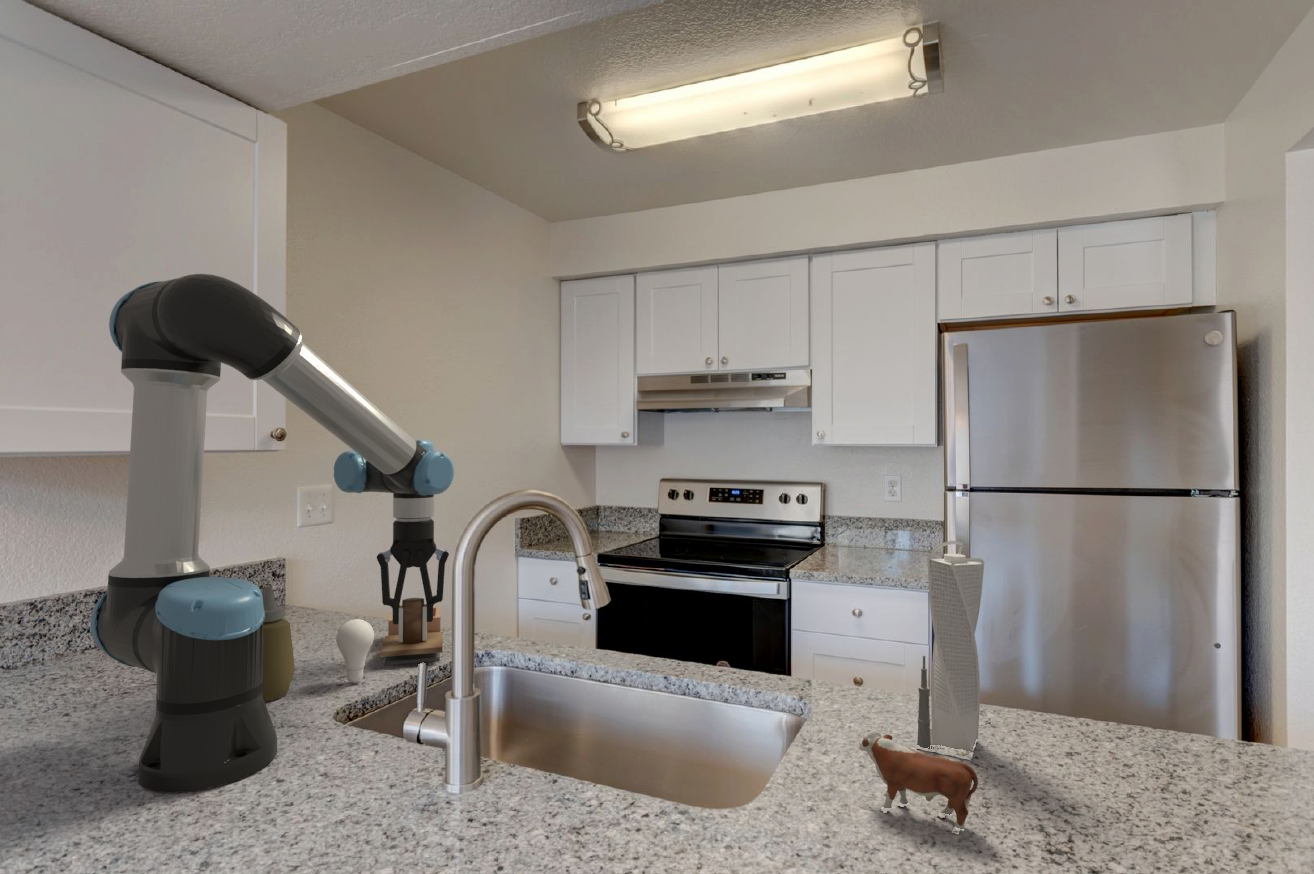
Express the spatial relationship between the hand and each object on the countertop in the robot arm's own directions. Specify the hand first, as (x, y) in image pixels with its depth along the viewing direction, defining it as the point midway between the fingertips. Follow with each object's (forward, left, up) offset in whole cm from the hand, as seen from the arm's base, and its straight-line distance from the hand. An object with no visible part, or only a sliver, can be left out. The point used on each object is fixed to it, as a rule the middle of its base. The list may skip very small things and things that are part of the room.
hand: (413, 639), depth 135 cm
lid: (0, 0, -1) cm, 1 cm away
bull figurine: (+57, -76, -4) cm, 95 cm away
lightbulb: (-9, -12, -4) cm, 15 cm away
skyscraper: (+74, -62, -4) cm, 97 cm away
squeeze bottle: (-22, -15, -4) cm, 27 cm away
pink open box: (0, +11, -4) cm, 12 cm away
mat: (0, 0, -4) cm, 4 cm away
